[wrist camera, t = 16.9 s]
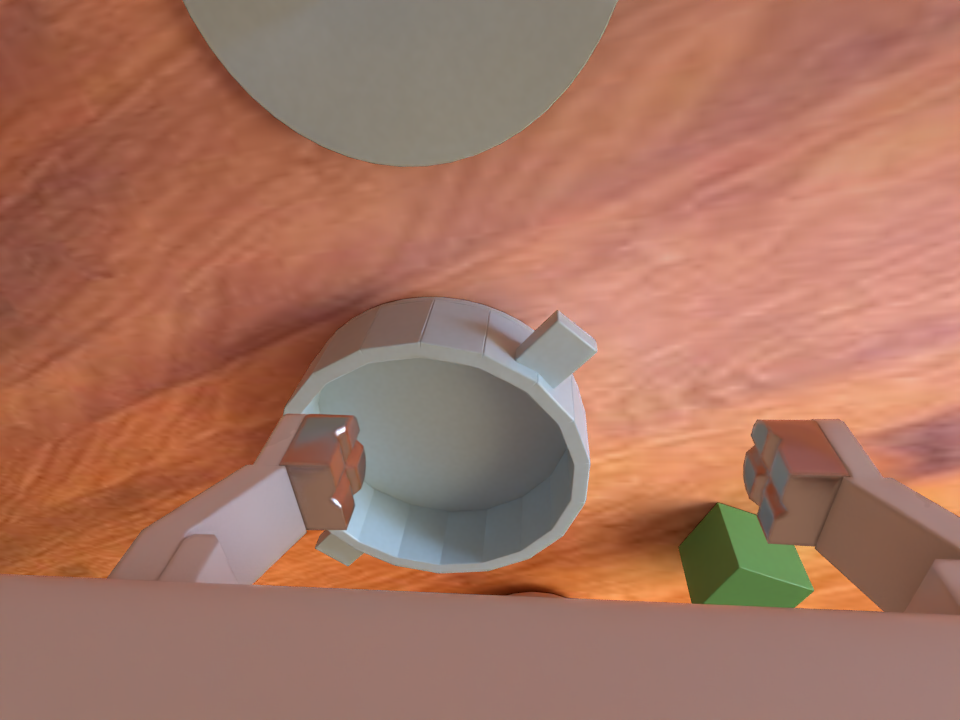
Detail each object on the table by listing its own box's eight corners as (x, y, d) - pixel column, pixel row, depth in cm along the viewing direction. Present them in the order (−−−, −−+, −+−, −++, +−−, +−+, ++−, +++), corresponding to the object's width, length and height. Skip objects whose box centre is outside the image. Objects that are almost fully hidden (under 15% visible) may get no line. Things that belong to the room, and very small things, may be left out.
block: (785, 523, 35) (815, 591, 31) (741, 567, 37) (764, 634, 34) (717, 501, 34) (739, 567, 30) (677, 547, 37) (693, 612, 33)
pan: (683, 384, 30) (703, 442, 26) (443, 563, 40) (432, 624, 36) (446, 190, 25) (429, 226, 22) (242, 447, 35) (207, 503, 32)
